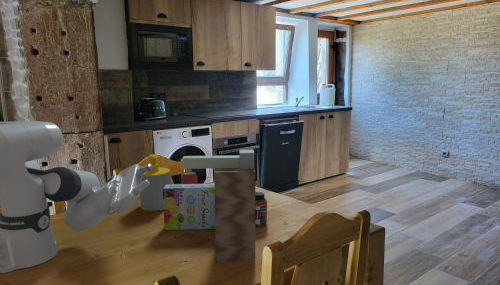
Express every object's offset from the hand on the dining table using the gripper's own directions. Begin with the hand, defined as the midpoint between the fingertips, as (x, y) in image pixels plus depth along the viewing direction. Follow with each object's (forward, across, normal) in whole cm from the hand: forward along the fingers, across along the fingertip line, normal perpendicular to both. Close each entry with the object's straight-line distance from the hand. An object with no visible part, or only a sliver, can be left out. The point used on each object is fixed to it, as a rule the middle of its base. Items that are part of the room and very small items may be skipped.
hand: (149, 173), depth 109 cm
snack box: (-2, +4, +28) cm, 28 cm away
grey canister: (-19, +28, +25) cm, 42 cm away
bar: (+20, -9, +6) cm, 23 cm away
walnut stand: (+10, -16, +29) cm, 35 cm away
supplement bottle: (+16, +3, +40) cm, 43 cm away
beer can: (-8, +33, +33) cm, 48 cm away
